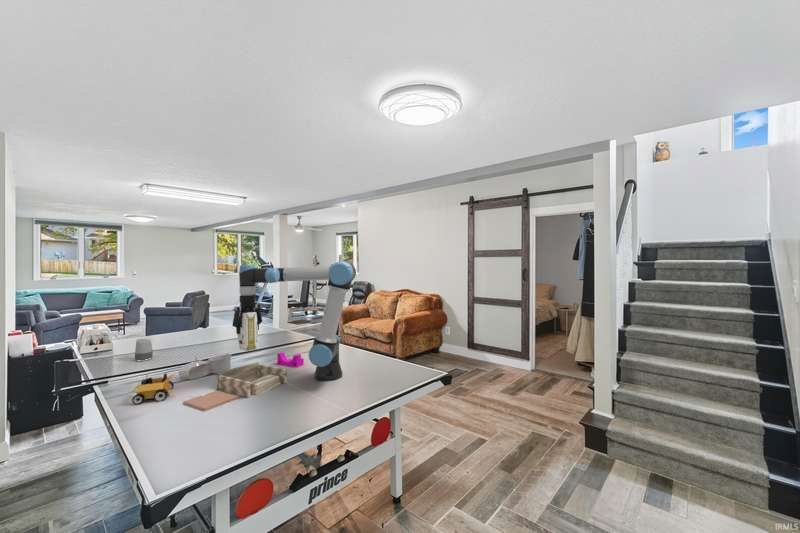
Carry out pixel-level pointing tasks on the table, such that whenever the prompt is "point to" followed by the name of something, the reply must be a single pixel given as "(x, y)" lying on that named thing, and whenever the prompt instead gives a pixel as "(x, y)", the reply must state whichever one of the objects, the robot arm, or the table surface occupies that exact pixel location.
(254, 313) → the juice carton
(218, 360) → the teacup
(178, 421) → the table surface
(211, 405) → the pad
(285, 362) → the toy block
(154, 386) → the yellow toy car
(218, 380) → the birch rack
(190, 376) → the vr headset
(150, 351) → the smart speaker
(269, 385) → the offcut stack
